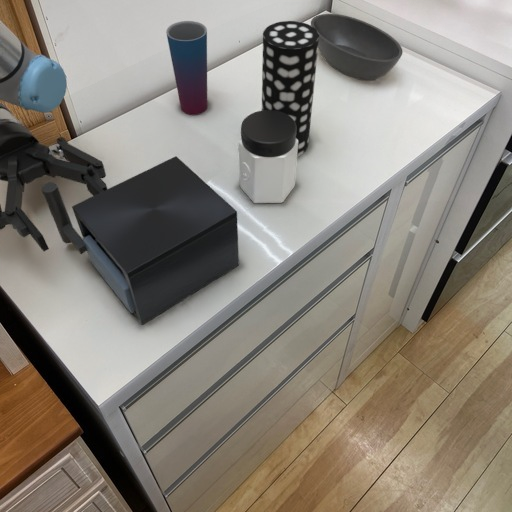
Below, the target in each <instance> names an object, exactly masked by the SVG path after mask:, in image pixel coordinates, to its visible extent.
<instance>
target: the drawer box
mask: <svg viewBox="0 0 512 512" xmlns="http://www.w3.org/2000/svg"><path fill="white" fill-rule="evenodd" d="M71 209H72V211H73V214H74V216H75V220H76V223H77V225H78V227H79V230H80V233H81V236H82V239H83V238H85V237H87V236H88V235H90V236H91V237H92V238H93V240H95V239H97V241H98V242H99V243H100V244H101V246H102V247H103V248H104V249H105V250H106V252H107V253H108V254H109V255H110V256H111V258H112V259H113V260H114V261H115V263H116V264H117V265H118V266H119V267H120V269H121V270H122V271H123V272H124V275H125V278H126V282H127V285H128V288H129V292H130V295H131V298H132V302H133V305H134V308H135V311H134V312H132V314H133V315H134V317H135V318H136V319H137V320H138V322H139V323H140V324H141V325H143V326H144V325H145V324H146V323H148V322H150V321H151V320H153V319H155V318H156V317H158V316H159V315H161V314H163V313H165V312H166V311H168V310H170V309H171V308H172V307H174V306H176V305H177V304H179V303H180V302H182V301H184V300H185V299H188V298H189V297H190V296H192V295H193V294H195V293H196V292H198V291H200V290H202V289H204V288H205V287H207V286H209V284H211V283H213V282H214V281H216V280H217V279H219V278H221V277H222V276H225V275H226V274H228V273H229V272H231V271H233V270H234V269H235V268H237V267H239V266H240V262H239V261H240V260H239V258H240V257H239V231H238V230H239V229H238V211H237V210H236V209H235V208H234V207H233V206H232V205H230V204H229V202H227V200H226V199H224V198H223V197H222V196H221V195H220V194H219V193H217V192H216V191H215V190H214V189H213V188H212V187H211V186H210V185H208V183H206V182H205V181H204V180H203V179H202V178H201V177H200V176H199V175H197V173H195V172H194V171H193V170H192V168H190V167H189V166H188V165H187V164H186V163H184V161H182V159H180V158H179V157H178V156H176V155H175V156H173V157H171V158H169V159H167V160H164V161H163V162H161V163H159V164H157V165H155V166H153V167H150V168H149V169H147V170H144V171H142V172H140V173H138V174H136V175H134V176H132V177H130V178H128V179H126V180H123V181H122V182H120V183H118V184H116V185H114V186H112V187H109V188H107V190H105V191H103V192H101V193H99V194H97V195H95V196H93V195H92V196H91V197H88V198H86V199H84V200H82V201H80V202H78V203H76V204H74V205H72V206H71Z"/></svg>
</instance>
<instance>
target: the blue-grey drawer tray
mask: <svg viewBox="0 0 512 512" xmlns="http://www.w3.org/2000/svg"><path fill="white" fill-rule="evenodd" d="M40 190H41V192H42V195H43V197H44V199H45V202H46V205H47V206H48V209H49V211H50V214H51V217H52V219H53V221H54V223H55V226H56V228H57V231H58V233H59V235H60V238H61V240H62V242H63V243H65V244H72V245H73V246H74V248H75V249H76V250H77V251H78V253H79V254H81V255H82V254H84V253H86V252H87V255H88V257H89V261H90V263H91V264H92V265H93V267H94V268H95V269H96V271H97V272H98V273H99V274H100V275H101V277H102V278H103V279H104V281H105V282H106V283H107V284H108V286H109V287H110V288H111V290H112V291H113V292H114V293H115V295H116V296H117V297H118V298H119V300H120V301H121V302H122V304H123V305H124V306H125V307H126V309H127V311H129V312H130V314H133V312H134V311H135V308H134V305H133V302H132V298H131V295H130V292H129V288H128V285H127V282H126V278H125V275H124V272H123V271H122V270H121V269H120V267H119V266H118V265H117V264H116V263H115V261H114V260H113V259H112V258H111V256H110V255H109V254H108V253H107V252H106V250H105V249H104V248H103V247H102V246H101V244H100V243H99V242H98V241H97V239H95V240H93V238H92V237H91V236H90V235H88V236H87V237H85V238H83V237H81V235H80V234H79V233H78V231H77V230H76V229H75V228H74V226H73V224H72V221H71V217H70V216H69V213H68V211H67V208H66V205H65V203H64V200H63V197H62V194H61V191H60V190H59V187H58V184H57V183H56V182H55V181H48V182H45V183H43V184H42V185H41V188H40Z"/></svg>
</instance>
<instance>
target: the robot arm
mask: <svg viewBox="0 0 512 512" xmlns="http://www.w3.org/2000/svg"><path fill="white" fill-rule="evenodd" d="M67 84H68V82H67V76H66V73H65V71H64V68H63V67H62V66H61V64H60V63H59V62H57V61H56V60H54V59H51V58H49V57H47V56H46V55H44V54H37V53H35V52H34V51H32V50H31V49H29V47H28V46H26V45H25V44H24V42H22V40H20V39H19V38H18V37H17V36H16V35H15V34H14V32H12V31H11V30H10V29H9V27H7V25H5V24H4V23H3V22H2V20H0V100H2V102H5V103H8V104H10V105H14V106H16V107H20V108H22V109H23V110H26V111H34V112H38V113H43V114H44V113H51V112H53V111H55V110H56V109H57V108H58V107H60V105H61V104H62V101H63V99H64V98H65V96H66V93H67V87H68V86H67ZM54 155H55V156H58V157H59V158H56V157H55V156H54ZM64 159H65V160H64ZM103 163H104V162H103V161H102V160H101V159H98V158H97V157H94V156H92V155H91V154H89V153H87V152H85V151H84V150H81V149H79V148H77V147H76V146H74V145H72V144H70V143H69V142H68V141H67V140H66V138H65V137H63V136H59V137H57V138H56V143H55V144H52V145H49V146H48V145H47V144H44V143H41V142H40V141H39V140H38V139H37V138H36V136H34V135H33V133H32V132H31V131H30V130H29V129H28V128H27V127H26V126H25V125H24V123H22V122H21V121H20V119H18V118H17V116H15V114H14V113H13V112H12V111H11V110H10V109H9V108H8V107H7V106H6V105H5V104H4V105H3V104H2V103H0V181H3V182H7V187H6V194H5V195H6V197H5V204H4V211H3V209H2V206H1V204H0V230H3V229H5V228H6V227H7V226H9V225H10V226H11V227H12V229H13V230H15V231H16V232H17V233H18V235H19V236H20V237H23V238H25V237H28V236H29V235H30V236H31V238H32V239H33V240H34V241H35V243H36V244H37V245H38V247H39V248H40V249H41V250H42V252H47V251H48V250H50V248H49V246H48V244H47V241H46V239H45V237H44V235H43V234H42V233H41V231H40V230H39V228H38V227H37V226H36V225H35V224H34V223H33V221H32V220H31V219H30V218H29V217H28V215H27V214H26V212H25V211H24V210H23V209H22V207H23V206H22V205H23V196H24V195H23V194H24V192H25V186H26V185H29V184H30V183H32V182H33V181H35V180H36V179H37V180H38V179H40V178H43V177H45V176H47V177H50V178H56V177H58V178H61V179H65V180H68V181H72V182H76V183H79V184H83V185H86V188H87V191H88V192H89V193H90V195H92V197H93V196H95V195H97V194H99V193H101V192H103V191H105V190H107V189H108V186H107V183H106V181H104V180H103V179H105V178H106V176H107V173H106V169H105V165H104V164H103Z"/></svg>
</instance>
